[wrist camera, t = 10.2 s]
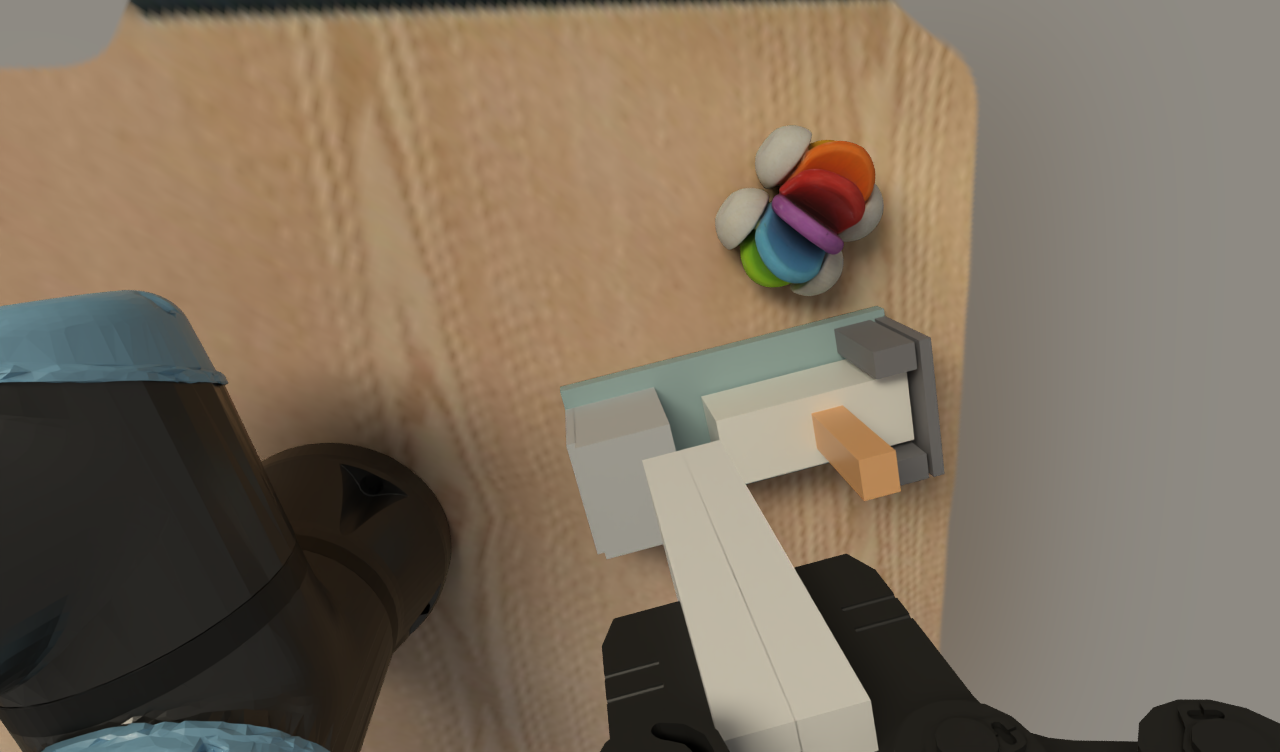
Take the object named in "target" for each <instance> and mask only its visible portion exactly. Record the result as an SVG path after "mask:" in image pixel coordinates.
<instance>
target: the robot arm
mask: <svg viewBox="0 0 1280 752" xmlns="http://www.w3.org/2000/svg"><path fill="white" fill-rule="evenodd" d="M226 384H228V381H227V379H226V377H225V376H224V375H223V374H222V373H221V372H218V371H216V370H215V368H214V366H213V364H212V362H211V361H210V359H209V357H208V355H207V353H206V351H205V350H204V348H203V346H202V344H201V342H200V341H199V339H198V337H197V335H196V333H195V331H194V330H193V328H192V326H191V324H190V322H189V321H188V319H187V317H186V316H185V314H184V313H183V312H182V311H181V310H180V309H179V308H178V307H177V306H176V305H175V304H174V303H172V302H171V301H169V300H167V299H166V298H163V297H161V296H159V295H156V294H153V293H149V292H145V291H136V290H122V291H111V292H101V293H92V294H83V295H75V296H68V297H60V298H53V299H46V300H39V301H32V302H26V303H19V304H12V305H6V306H0V720H1V721H2V723H3V724H4V725H5V727H6V728H7V730H8V731H9V733H10V734H11V736H12V737H13V738H14V740H15V741H16V743H17V744H18V746H19V747H20V749H21V750H22V752H360V751H361V748H362V745H363V741H364V738H365V735H366V732H367V729H368V726H369V723H370V720H371V717H372V714H373V711H374V708H375V705H376V702H377V699H378V696H379V693H380V690H381V687H382V684H383V681H384V678H385V675H386V672H387V669H388V666H389V663H390V660H391V657H392V654H393V653H394V652H395V651H396V650H397V648H398V647H399V646H400V645H401V644H402V643H403V642H404V641H405V640H406V639H407V638H408V636H409V635H410V634H411V633H412V632H414V631H415V630H416V629H417V628H418V627H419V625H420V624H421V623H422V622H423V621H424V620H425V619H426V618H427V616H428V615H429V614H430V612H431V611H432V609H433V607H434V606H435V604H436V602H437V600H438V598H439V596H440V594H441V591H442V589H443V586H444V582H445V579H446V575H447V572H448V568H449V564H450V558H451V536H450V530H449V526H448V522H447V519H446V516H445V514H444V511H443V509H442V507H441V505H440V503H439V502H438V500H437V499H436V497H435V496H434V494H433V493H432V491H431V490H430V489H429V488H428V487H427V485H426V484H425V483H424V482H423V481H422V480H421V479H420V478H419V477H418V476H417V475H415V474H414V473H413V472H412V471H411V470H409V469H408V468H407V467H405V466H404V465H402V464H400V463H399V462H397V461H395V460H394V459H392V458H390V457H388V456H386V455H383V454H381V453H378V452H376V451H373V450H370V449H367V448H363V447H359V446H353V445H347V444H337V443H320V444H310V445H304V446H299V447H295V448H291V449H288V450H285V451H283V452H280V453H278V454H275V455H273V456H271V457H269V458H268V459H266V460H264V461H262V462H261V461H260V458H259V456H258V454H257V452H256V450H255V448H254V446H253V444H252V442H251V439H250V437H249V435H248V433H247V431H246V429H245V427H244V425H243V423H242V421H241V418H240V416H239V414H238V412H237V410H236V408H235V406H234V404H233V402H232V399H231V397H230V395H229V393H228V391H227V389H226V387H225V385H226ZM642 462H643V466H644V470H645V474H646V478H647V482H648V486H649V490H650V494H651V498H652V502H653V506H654V510H655V514H656V517H657V521H658V525H659V529H660V533H661V537H662V541H663V545H664V549H665V553H666V557H667V561H668V565H669V569H670V573H671V577H672V581H673V584H674V588H675V592H676V596H677V599H678V602H674V603H670V604H667V605H663V606H659V607H656V608H652V609H648V610H644V611H641V612H637V613H633V614H630V615H626V616H622V617H618V618H615V619H613V622H612V624H611V626H610V629H609V631H608V633H607V636H606V638H605V640H604V643H603V645H602V653H603V665H604V675H605V688H606V699H607V703H608V704H607V711H608V722H609V733H610V739H609V740H608V741H607V742H606V743H605V744H604V746H603V748H602V749H601V751H600V752H1280V723H1277V722H1275V721H1273V720H1271V719H1269V718H1266V717H1264V716H1262V715H1260V714H1257V713H1255V712H1253V711H1251V710H1249V709H1247V708H1243V707H1239V706H1234V705H1230V704H1226V703H1222V702H1217V701H1213V700H1175V701H1172V702H1169V703H1166V704H1163V705H1160V706H1157V707H1154V708H1153V709H1152V710H1151V711H1150V712H1149V713H1148V714H1147V715H1146V716H1145V717H1144V718H1143V719H1142V720H1141V722H1140V723H1139V733H1138V742H1128V741H1073V740H1064V739H1054V738H1047V737H1044V736H1040V735H1037V734H1033V733H1030V732H1029V731H1028V730H1027V729H1026V728H1024V727H1023V726H1022V725H1021V724H1020V723H1019V722H1018V721H1016V720H1015V719H1014V718H1013V717H1012V716H1010V715H1008V714H1005V713H1003V712H1001V711H999V710H997V709H994V708H993V707H990V706H988V705H986V704H981V703H980V702H979V701H978V700H977V699H976V698H975V697H974V696H973V695H972V694H971V692H970V691H969V690H968V689H967V687H966V686H965V685H964V683H963V682H962V681H961V680H960V678H959V677H958V676H957V674H956V673H955V672H954V671H953V669H952V668H951V667H950V665H949V664H948V663H947V662H946V660H945V659H944V658H943V656H942V655H941V654H940V653H939V651H938V650H937V649H936V647H935V646H934V645H933V643H932V642H931V641H930V640H929V638H928V637H927V636H926V634H925V633H924V632H923V631H922V629H921V628H920V627H919V625H918V624H917V623H916V622H915V620H914V619H913V618H910V616H909V613H908V611H907V610H906V609H905V607H904V606H903V605H902V604H901V602H900V601H899V600H898V598H895V597H894V593H893V592H892V591H891V589H890V588H889V587H888V586H887V584H886V583H885V582H884V580H883V579H882V578H881V577H880V575H879V574H878V573H877V571H876V570H875V569H873V568H871V567H869V566H868V565H866V564H864V563H862V562H860V561H859V560H857V559H855V558H853V557H851V556H850V555H848V554H843V555H840V556H836V557H832V558H828V559H825V560H821V561H817V562H814V563H810V564H806V565H802V566H799V567H795V568H794V567H793V565H792V563H791V562H790V560H789V558H788V557H787V555H786V553H785V551H784V550H783V548H782V546H781V544H780V543H779V541H778V539H777V538H776V536H775V534H774V532H773V531H772V529H771V527H770V525H769V524H768V522H767V520H766V519H765V517H764V515H763V513H762V512H761V510H760V508H759V507H758V505H757V503H756V501H755V500H754V498H753V496H752V494H751V493H750V491H749V489H748V488H747V486H746V484H745V482H744V481H743V479H742V477H741V475H740V474H739V472H738V470H737V469H736V467H735V465H734V463H733V462H732V460H731V458H730V456H729V455H728V453H727V451H726V450H725V448H724V446H723V444H722V443H721V441H720V440H718V441H714V442H710V443H706V444H702V445H699V446H695V447H691V448H687V449H683V450H679V451H676V452H672V453H668V454H664V455H660V456H656V457H653V458H649V459H645V460H642Z"/></svg>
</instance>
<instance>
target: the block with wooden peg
mask: <svg viewBox="0 0 1280 752" xmlns="http://www.w3.org/2000/svg"><path fill="white" fill-rule="evenodd" d="M701 399H702V403H703V408H704V413H705V417H706V422H707V426H708V431H709V436H710V440H711V442H714V441H718V440H720V441H721V443H722V444H723V446H724V448H725V450H726V451H727V453H728V455H729V456H730V458H731V460H732V462H733V463H734V465H735V467H736V469H737V470H738V472H739V474H740V475H741V477H742V479H743V481H744V482H745V484H747V483H751V482H755V481H759V480H762V479H766V478H770V477H774V476H778V475H781V474H785V473H789V472H793V471H796V470H800V469H804V468H808V467H812V466H815V465H819V464H823V463H827V462H829V463H830V464H831V465H832V466H833V467H834V468H835V469H836V470H837V471H838V473H839V474H840V475H841V476H842V477H843V478H844V479H845V480H846V481H847V482H848V484H849V485H850V486H851V487H852V488H853V489H854V490H855V491H856V492H857V494H858V495H859V496H860V497H861V498H862V499H863V500H864V501H867V500H870V499H874V498H878V497H882V496H886V495H889V494H893V493H897V492H901V489H900V481H899V473H898V465H897V457H896V450H894V449H893V448H892V447H891V445H895V444H899V443H903V442H906V441H910V440H914V432H913V423H912V414H911V406H910V397H909V388H908V379H907V372H904V373H900V374H896V375H892V376H889V377H885V378H881V379H877V380H876V379H875V378H874V377H872V376H871V375H869V374H868V373H866V372H865V371H863V370H862V369H860V368H859V367H857V366H856V365H855V364H853V363H852V362H850V361H849V360H847V359H844V360H841V361H837V362H833V363H829V364H825V365H821V366H817V367H814V368H810V369H806V370H802V371H798V372H794V373H790V374H786V375H783V376H779V377H775V378H771V379H767V380H763V381H759V382H755V383H752V384H748V385H744V386H740V387H736V388H732V389H728V390H724V391H721V392H717V393H713V394H709V395H705V396H701Z"/></svg>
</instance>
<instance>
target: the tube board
mask: <svg viewBox="0 0 1280 752" xmlns="http://www.w3.org/2000/svg"><path fill="white" fill-rule="evenodd" d="M844 359H847V360H849V361H850V362H852V363H853V364H855V365H856V366H857V367H859V368H860V369H862V370H863V371H865V372H866V373H868V374H869V375H871V376H872V377H874V378H875V379H876V380H877V379H881V378H885V377H889V376H892V375H896V374H900V373H904V372H907V379H908V388H909V397H910V406H911V414H912V423H913V432H914V440H910V441H906V442H903V443H899V444H895V445H891V447H892V448H893V449H894V450H896V457H897V465H898V473H899V481H900V486H901V485H905V484H908V483H912V482H916V481H920V480H924V479H927V478H929V473H930V474H931V475H932V476H933V477H935V476H939V475H942V474H944V464H943V454H942V444H941V435H940V425H939V415H938V405H937V395H936V385H935V375H934V365H933V355H932V345H931V338H930V337H928V336H926V335H924V334H922V333H920V332H918V331H916V330H913V329H911V328H909V327H907V326H905V325H903V324H901V323H899V322H896V321H894V320H892V319H890V318H888V317H886V316H885V315H884V309H883V308H881V307H879V306H875V307H871V308H867V309H863V310H859V311H855V312H851V313H847V314H843V315H839V316H835V317H832V318H828V319H824V320H820V321H816V322H812V323H808V324H804V325H800V326H796V327H792V328H789V329H785V330H781V331H777V332H773V333H769V334H765V335H761V336H757V337H753V338H750V339H746V340H742V341H738V342H734V343H730V344H726V345H722V346H718V347H714V348H710V349H707V350H703V351H699V352H695V353H691V354H687V355H683V356H679V357H675V358H671V359H667V360H664V361H660V362H656V363H652V364H648V365H644V366H640V367H636V368H632V369H628V370H624V371H621V372H617V373H613V374H609V375H605V376H601V377H597V378H593V379H589V380H585V381H581V382H578V383H574V384H570V385H566V386H562V387H560V393H561V396H562V400H563V403H564V407H565V414H566V446H567V450H568V453H569V457H570V460H571V463H572V467H573V470H574V474H575V477H576V481H577V484H578V488H579V491H580V495H581V498H582V501H583V505H584V508H585V512H586V515H587V519H588V522H589V526H590V529H591V533H592V536H593V539H594V543H595V546H596V550H597V553H598V554H601V553H604V552H605V555H606V559H610V558H613V557H617V556H621V555H625V554H628V553H632V552H636V551H640V550H643V549H647V548H651V547H655V546H659V545H662V544H663V541H662V537H661V533H660V529H659V525H658V521H657V517H656V514H655V510H654V506H653V502H652V498H651V494H650V490H649V486H648V482H647V478H646V474H645V470H644V466H643V462H642V460H645V459H649V458H653V457H656V456H660V455H664V454H668V453H672V452H676V451H679V450H683V449H687V448H691V447H695V446H699V445H702V444H706V443H710V442H711V440H710V436H709V431H708V426H707V422H706V417H705V413H704V408H703V403H702V399H701V396H705V395H709V394H713V393H717V392H721V391H724V390H728V389H732V388H736V387H740V386H744V385H748V384H752V383H755V382H759V381H763V380H767V379H771V378H775V377H779V376H783V375H786V374H790V373H794V372H798V371H802V370H806V369H810V368H814V367H817V366H821V365H825V364H829V363H833V362H837V361H841V360H844ZM827 463H829V462H827ZM823 464H826V463H823ZM819 465H822V464H819ZM815 466H818V465H815ZM815 466H812V467H815ZM808 468H811V467H808ZM804 469H807V468H804ZM800 470H803V469H800ZM796 471H799V470H796ZM796 471H793V472H796ZM789 473H792V472H789ZM785 474H788V473H785ZM781 475H784V474H781ZM778 476H780V475H778ZM774 477H777V476H774ZM770 478H773V477H770ZM766 479H769V478H766ZM762 480H765V479H762ZM759 481H761V480H759ZM755 482H758V481H755ZM751 483H754V482H751ZM747 484H750V483H747Z"/></svg>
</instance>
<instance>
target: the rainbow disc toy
mask: <svg viewBox="0 0 1280 752" xmlns="http://www.w3.org/2000/svg"><path fill="white" fill-rule="evenodd" d="M811 137H812V134H811V132H810V131H809V130H808V129H806V128H804V127H801V126H796V125H789V126H783V127H780V128H777V129H776V130H774V131H773V132H772V133H771V134H770V135H769V136H768V137H767V138H766V140H765V141H764V142H763V143H762V145H761V146H760V148H759V150H758V152H757V154H756V158H755V169H756V173H757V176H758V178H759V180H760V182H761V183H762V185H763V186H764V188H769V189H770V188H772V187H774V186H776V185H778V187H779V194H778V195H776V196H775V197H774V198H773V201H772V202H771V203H770V202H769V195H768V194H767V193H766V192H765V191H764V190H761V189H756V188H744V189H740V190H737V191H735V192H733V193H732V194H731V195H730V196H729V197H728V198H727V199H726V200H725V201H724V203H723V204H722V206H721V207H720V209H719V211H718V213H717V215H716V219H715V227H716V232H717V235H718V238H719V240H720V241H721V243H722V244H723V245H724V246H725V247H726V248H727V249H729V250H731V249H733V248H735V247H737V246H738V245H739V244H740V256H741V261H742V264H743V267H744V270H745V271H746V273H747V275H748V276H749V277H750V278H751V279H752V280H753V281H754V282H756V283H757V284H759V285H761V286H765V287H781V286H785V285H788V284H790V288H791V290H792V291H793V292H794V293H797V294H800V295H804V296H814V295H818V294H821V293H824V292H826V291H827V290H829V289H830V288H831V287H832V286H833V285H834V284H835V283H836V282H837V280H838V279H839V277H840V275H841V273H842V270H843V254H842V251H841V250H842V249H843V246H844V242H849V241H856V240H859V239H861V238H863V237H865V236H867V235H868V234H869V233H870V232H871V231H872V230H873V229H874V228H875V227H876V226H877V224H878V223H879V221H880V219H881V217H882V213H883V198H882V194H881V192H880V190H879V188H878V187H877V186H876V184H875V169H874V165H873V162H872V159H871V157H870V156H869V154H868V153H867V151H866V150H865V149H864V148H863V147H861V146H859V145H857V144H854V143H851V142H846V141H833V140H821V141H817V142H814V143H811V144H810V141H811ZM843 241H844V242H843Z"/></svg>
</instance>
